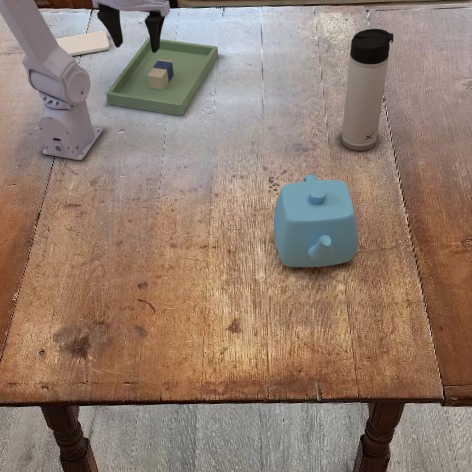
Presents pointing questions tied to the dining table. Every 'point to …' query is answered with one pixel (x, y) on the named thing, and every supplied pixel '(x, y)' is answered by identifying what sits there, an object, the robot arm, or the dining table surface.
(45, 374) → the dining table surface
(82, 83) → the robot arm
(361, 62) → the travel mug
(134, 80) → the tray
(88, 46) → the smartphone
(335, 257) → the teapot
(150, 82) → the eraser
